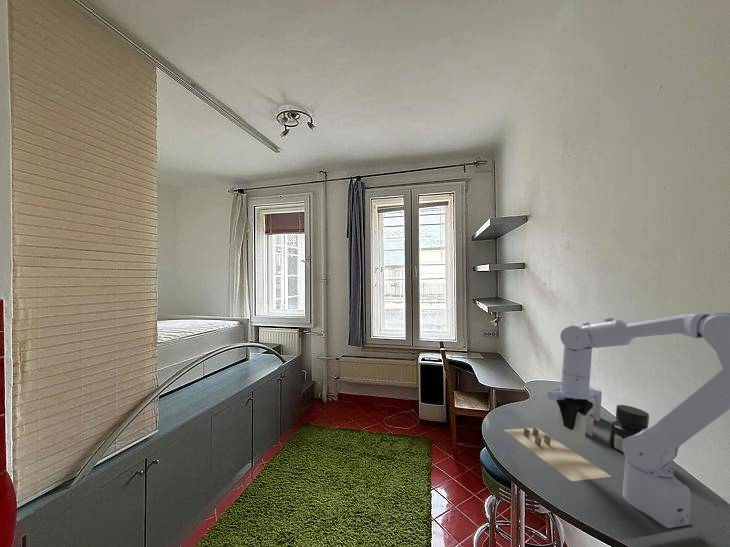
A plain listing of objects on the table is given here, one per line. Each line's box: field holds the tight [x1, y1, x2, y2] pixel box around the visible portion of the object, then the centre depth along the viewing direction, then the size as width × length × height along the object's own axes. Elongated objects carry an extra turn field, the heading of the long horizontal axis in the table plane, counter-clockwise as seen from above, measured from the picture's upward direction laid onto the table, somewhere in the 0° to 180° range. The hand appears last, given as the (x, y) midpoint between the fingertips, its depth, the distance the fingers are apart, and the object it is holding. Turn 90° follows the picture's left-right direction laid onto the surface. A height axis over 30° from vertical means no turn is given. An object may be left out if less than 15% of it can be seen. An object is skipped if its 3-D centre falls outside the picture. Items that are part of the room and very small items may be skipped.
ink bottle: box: [608, 404, 650, 455], centre depth 83 cm, size 10×9×12 cm
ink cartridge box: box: [585, 384, 595, 437], centre depth 95 cm, size 9×5×15 cm, turn 168°
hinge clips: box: [523, 427, 551, 446], centre depth 84 cm, size 6×4×2 cm
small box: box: [589, 384, 603, 422], centre depth 106 cm, size 8×6×10 cm
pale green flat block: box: [557, 407, 587, 446], centre depth 74 cm, size 6×2×7 cm, turn 14°
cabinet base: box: [504, 427, 613, 482], centre depth 79 cm, size 22×12×1 cm, turn 14°
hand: (571, 427), depth 74 cm, fingers closed on pale green flat block, 1 cm apart
